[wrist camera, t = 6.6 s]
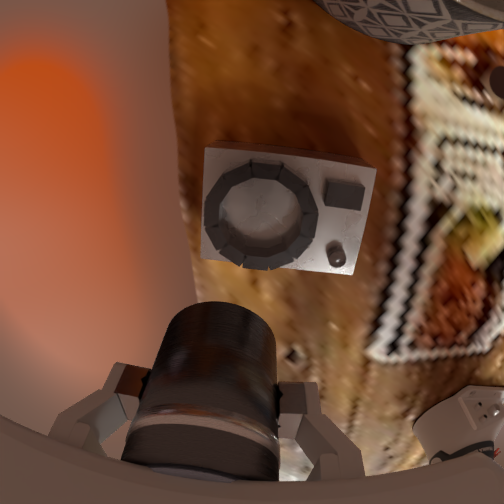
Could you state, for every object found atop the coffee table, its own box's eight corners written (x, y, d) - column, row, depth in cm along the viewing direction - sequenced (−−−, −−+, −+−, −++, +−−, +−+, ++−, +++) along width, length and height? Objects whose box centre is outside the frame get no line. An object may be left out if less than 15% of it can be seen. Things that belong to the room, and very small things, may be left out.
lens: (283, 305, 13) (294, 473, 6) (271, 386, 15) (270, 521, 8) (159, 294, 13) (92, 444, 6) (170, 376, 15) (135, 503, 8)
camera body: (361, 158, 28) (383, 173, 22) (342, 251, 33) (356, 285, 27) (216, 140, 29) (199, 150, 23) (210, 236, 33) (196, 267, 27)
